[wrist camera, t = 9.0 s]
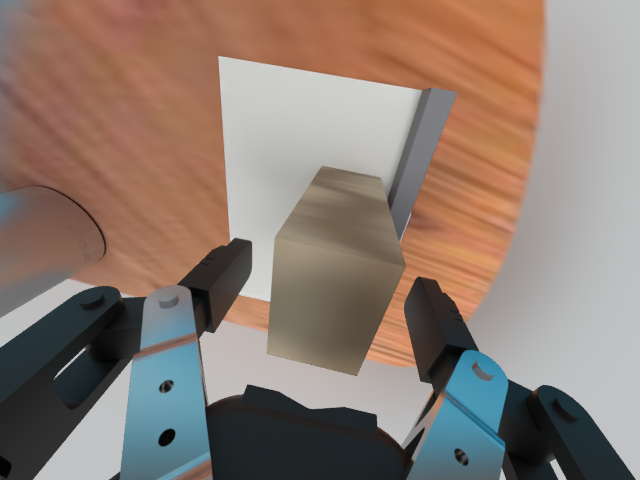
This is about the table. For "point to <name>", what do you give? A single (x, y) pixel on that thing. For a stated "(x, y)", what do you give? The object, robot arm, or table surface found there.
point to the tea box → (333, 272)
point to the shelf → (317, 145)
